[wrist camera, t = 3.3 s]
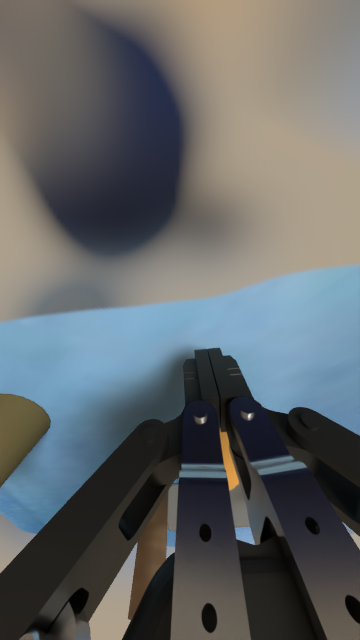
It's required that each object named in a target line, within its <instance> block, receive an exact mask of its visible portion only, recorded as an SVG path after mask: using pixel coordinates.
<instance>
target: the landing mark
mask: <svg viewBox="0 0 360 640" xmlns="http://www.w3.org/2000/svg"><path fill="white" fill-rule="evenodd" d="M229 492H230V499H231V506H232V512H233V519H234V526H235V528H236V527H250V524H249V519H248V513H247V507H246V503H245V500H244V496H243V493H242V490H241V487H240V483H239V484H238V485H237V486H236V487H235V488H234V489H232V490H230V491H229ZM177 502H178V484H172V485H171V487H170V489H169V492H168V518H167V524H168V527H169V530H170V531H176V521H177Z"/></svg>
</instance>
